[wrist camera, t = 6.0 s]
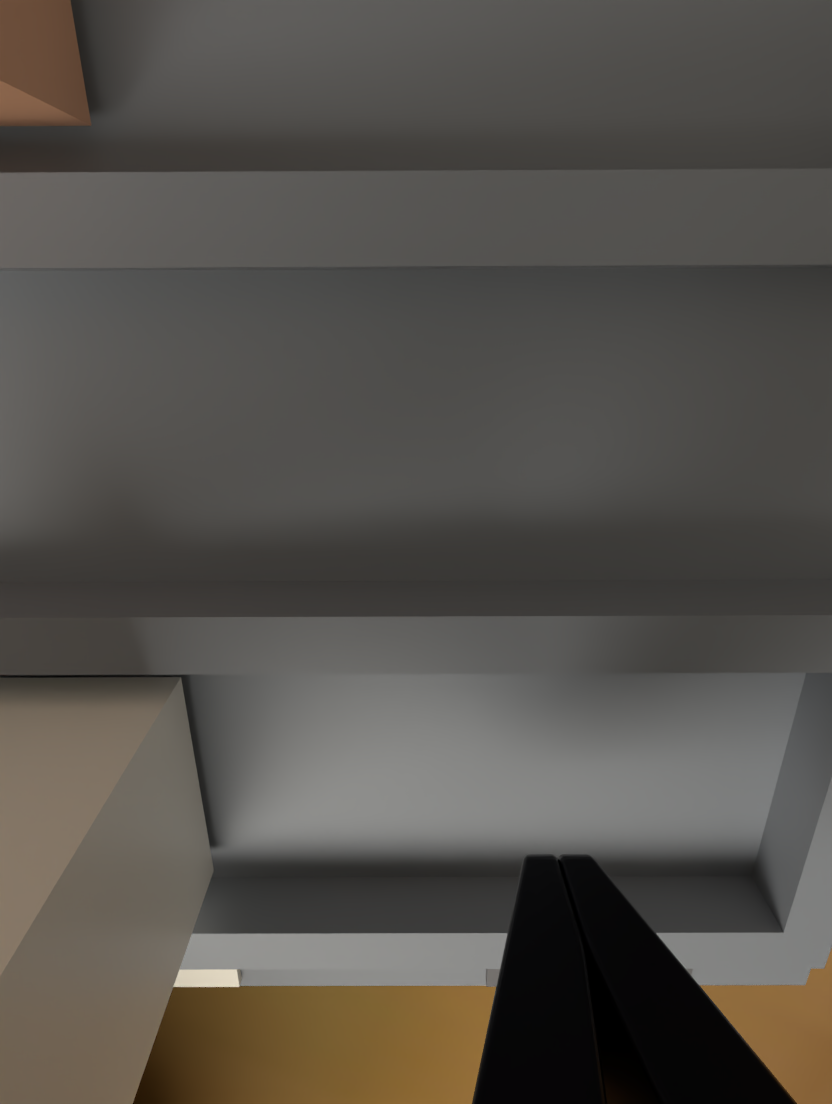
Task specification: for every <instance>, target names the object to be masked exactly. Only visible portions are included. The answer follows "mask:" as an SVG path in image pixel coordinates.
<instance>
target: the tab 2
mask: <svg viewBox="0 0 832 1104" xmlns="http://www.w3.org/2000/svg"><path fill="white" fill-rule="evenodd" d="M213 871H214V869H213V863H212V857H211V851H210V845H209V839H208V833H207V827H206V821H205V816H204V810H203V804H202V798H201V792H200V786H199V780H198V774H197V769H196V763H195V757H194V751H193V745H192V739H191V733H190V727H189V721H188V716H187V710H186V704H185V698H184V692H183V686H182V680H181V677H78V678H0V1104H133V1101H134V1098H135V1096H136V1093H137V1090H138V1087H139V1084H140V1081H141V1078H142V1075H143V1073H144V1070H145V1067H146V1064H147V1061H148V1058H149V1055H150V1052H151V1050H152V1047H153V1044H154V1041H155V1038H156V1035H157V1032H158V1029H159V1027H160V1024H161V1021H162V1018H163V1015H164V1012H165V1009H166V1006H167V1004H168V1001H169V998H170V995H171V992H172V989H173V986H174V983H175V981H176V978H177V975H178V972H179V969H180V966H181V963H182V960H183V958H184V955H185V952H186V949H187V946H188V943H189V940H190V937H191V935H192V932H193V929H194V926H195V923H196V920H197V917H198V914H199V912H200V909H201V906H202V903H203V900H204V897H205V894H206V892H207V889H208V886H209V883H210V880H211V877H212V874H213Z"/></svg>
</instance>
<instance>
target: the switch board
mask: <svg viewBox="0 0 832 1104" xmlns="http://www.w3.org/2000/svg"><path fill="white" fill-rule="evenodd" d="M70 1H71V7H72V13H73V19H74V25H75V31H76V37H77V43H78V48H79V54H80V60H81V66H82V72H83V78H84V84H85V90H86V96H87V102H88V108H89V114H90V120H91V126H0V678H78V677H181V680H182V686H183V692H184V698H185V704H186V710H187V716H188V721H189V727H190V733H191V739H192V745H193V751H194V757H195V763H196V769H197V774H198V780H199V786H200V792H201V798H202V804H203V810H204V816H205V821H206V827H207V833H208V839H209V845H210V851H211V857H212V863H213V869H214V871H213V874H212V877H211V880H210V883H209V886H208V889H207V892H206V894H205V897H204V900H203V903H202V906H201V909H200V912H199V914H198V917H197V920H196V923H195V926H194V929H193V932H192V935H191V937H190V940H189V943H188V946H187V949H186V952H185V955H184V958H183V960H182V963H181V966H180V969H179V972H178V975H177V978H176V981H175V983H174V986H173V987H240V986H485V985H486V987H493V986H497V981H498V977H499V972H500V967H501V962H502V957H503V953H504V948H505V943H506V938H507V933H508V929H509V924H510V919H511V914H512V909H513V905H514V900H515V895H516V890H517V885H518V881H519V876H520V871H521V866H522V862H523V858H524V856H525V855H527V854H553V855H555V856H556V858H558V856H559V855H561V854H588V855H590V856H592V857H593V858H594V859H595V860H596V861H597V862H598V864H599V865H600V866H601V867H602V869H603V870H604V871H605V872H606V873H607V875H608V876H609V877H610V878H611V879H612V881H613V882H614V883H615V884H616V885H617V887H618V888H619V889H620V890H621V891H622V893H623V894H624V895H625V896H626V898H627V899H628V900H629V901H630V902H631V904H632V905H633V906H634V907H635V908H636V910H637V911H638V912H639V913H640V914H641V916H642V917H643V918H644V919H645V920H646V922H647V923H648V924H649V925H650V927H651V928H652V929H653V930H654V931H655V933H656V934H657V935H658V936H659V937H660V939H661V940H662V941H663V942H664V943H665V945H666V946H667V947H668V948H669V949H670V951H671V952H672V953H673V954H674V956H675V957H676V958H677V959H678V960H679V962H680V963H681V964H682V965H683V966H684V968H685V969H686V970H687V971H688V972H689V974H690V975H691V976H692V977H693V978H694V980H695V981H696V982H697V983H698V985H805V984H806V981H807V978H808V975H809V973H810V970H811V968H824V967H825V964H826V962H827V959H828V956H829V953H830V950H831V947H832V0H70Z"/></svg>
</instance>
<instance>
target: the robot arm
mask: <svg viewBox="0 0 832 1104" xmlns="http://www.w3.org/2000/svg"><path fill="white" fill-rule="evenodd" d="M472 1104H797V1103H796V1102H795V1101H794V1099H793V1098H792V1097H791V1096H790V1094H789V1093H788V1092H787V1091H786V1090H785V1088H784V1087H783V1086H782V1085H781V1084H780V1082H779V1081H778V1080H777V1079H776V1078H775V1076H774V1075H773V1074H772V1073H771V1072H770V1070H769V1069H768V1068H767V1067H766V1065H765V1064H764V1063H763V1062H762V1061H761V1059H760V1058H759V1057H758V1056H757V1055H756V1053H755V1052H754V1051H753V1050H752V1049H751V1047H750V1046H749V1045H748V1044H747V1043H746V1041H745V1040H744V1039H743V1038H742V1036H741V1035H740V1034H739V1033H738V1032H737V1030H736V1029H735V1028H734V1027H733V1026H732V1024H731V1023H730V1022H729V1021H728V1020H727V1018H726V1017H725V1016H724V1015H723V1014H722V1012H721V1011H720V1010H719V1009H718V1007H717V1006H716V1005H715V1004H714V1003H713V1001H712V1000H711V999H710V998H709V997H708V995H707V994H706V993H705V992H704V991H703V989H702V988H701V987H700V986H699V985H698V983H697V982H696V981H695V980H694V978H693V977H692V976H691V975H690V974H689V972H688V971H687V970H686V969H685V968H684V966H683V965H682V964H681V963H680V962H679V960H678V959H677V958H676V957H675V956H674V954H673V953H672V952H671V951H670V949H669V948H668V947H667V946H666V945H665V943H664V942H663V941H662V940H661V939H660V937H659V936H658V935H657V934H656V933H655V931H654V930H653V929H652V928H651V927H650V925H649V924H648V923H647V922H646V920H645V919H644V918H643V917H642V916H641V914H640V913H639V912H638V911H637V910H636V908H635V907H634V906H633V905H632V904H631V902H630V901H629V900H628V899H627V898H626V896H625V895H624V894H623V893H622V891H621V890H620V889H619V888H618V887H617V885H616V884H615V883H614V882H613V881H612V879H611V878H610V877H609V876H608V875H607V873H606V872H605V871H604V870H603V869H602V867H601V866H600V865H599V864H598V862H597V861H596V860H595V859H594V858H593V857H592V856H590V855H588V854H561V855H559V856H558V858H556V856H555V855H553V854H527V855H525V856H524V858H523V862H522V866H521V871H520V876H519V881H518V885H517V890H516V895H515V900H514V905H513V909H512V914H511V919H510V924H509V929H508V933H507V938H506V943H505V948H504V953H503V957H502V962H501V967H500V972H499V977H498V981H497V986H496V991H495V996H494V1001H493V1005H492V1010H491V1015H490V1020H489V1025H488V1029H487V1034H486V1039H485V1044H484V1049H483V1053H482V1058H481V1063H480V1068H479V1072H478V1077H477V1082H476V1087H475V1092H474V1096H473V1101H472Z"/></svg>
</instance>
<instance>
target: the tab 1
mask: <svg viewBox="0 0 832 1104" xmlns="http://www.w3.org/2000/svg"><path fill="white" fill-rule="evenodd" d="M0 126H91V120H90V114H89V108H88V102H87V96H86V90H85V84H84V78H83V72H82V66H81V60H80V54H79V48H78V43H77V37H76V31H75V25H74V19H73V13H72V7H71V1H70V0H0Z"/></svg>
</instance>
